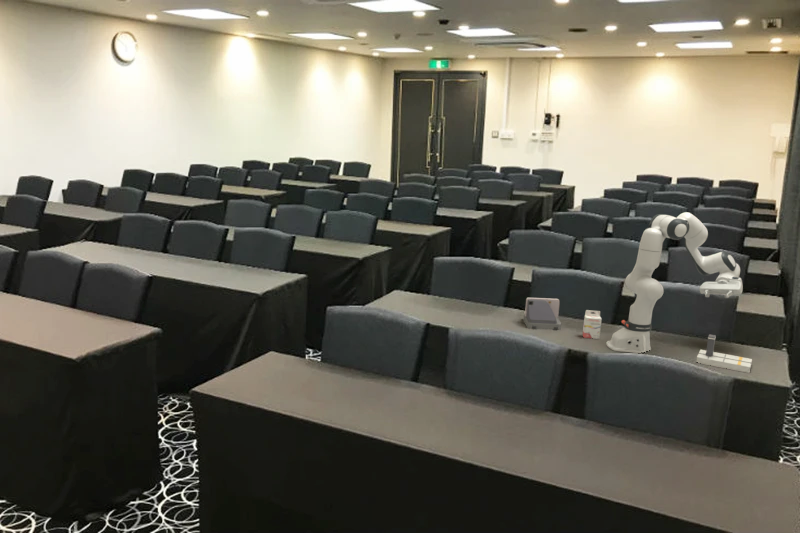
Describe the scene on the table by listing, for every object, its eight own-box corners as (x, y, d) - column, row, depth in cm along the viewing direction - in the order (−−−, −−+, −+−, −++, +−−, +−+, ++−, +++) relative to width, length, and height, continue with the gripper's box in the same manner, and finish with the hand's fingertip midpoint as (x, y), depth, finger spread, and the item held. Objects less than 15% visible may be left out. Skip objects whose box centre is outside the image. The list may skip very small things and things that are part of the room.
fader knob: (704, 358, 346) (708, 336, 343) (705, 356, 350) (709, 334, 347) (711, 360, 344) (715, 337, 342) (712, 357, 348) (716, 335, 346)
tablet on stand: (559, 321, 405) (561, 296, 402) (561, 332, 385) (563, 306, 382) (523, 318, 409) (525, 293, 405) (522, 328, 389) (524, 303, 385)
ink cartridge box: (583, 338, 376) (586, 312, 372) (582, 335, 380) (584, 309, 377) (599, 339, 375) (602, 313, 371) (598, 336, 380) (600, 310, 376)
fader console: (696, 362, 344) (697, 356, 343) (699, 354, 356) (700, 349, 355) (749, 373, 333) (750, 367, 332) (751, 364, 344) (752, 358, 343)
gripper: (703, 277, 366) (694, 290, 357) (744, 278, 352) (736, 291, 343) (705, 287, 368) (696, 300, 359) (746, 288, 354) (738, 302, 345)
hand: (716, 296), depth 351 cm, fingers open, 8 cm apart
